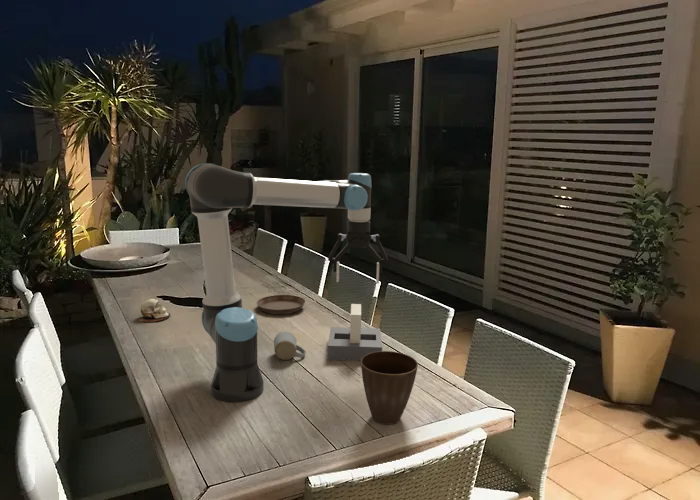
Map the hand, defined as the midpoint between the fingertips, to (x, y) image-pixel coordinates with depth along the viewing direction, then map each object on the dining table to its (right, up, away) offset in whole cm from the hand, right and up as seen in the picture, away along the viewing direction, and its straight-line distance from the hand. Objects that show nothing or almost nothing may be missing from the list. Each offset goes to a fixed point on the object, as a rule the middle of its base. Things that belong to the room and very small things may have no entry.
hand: (357, 281), depth 188 cm
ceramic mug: (-23, -25, -1) cm, 34 cm away
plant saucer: (-32, -15, +49) cm, 60 cm away
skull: (-81, -17, +33) cm, 89 cm away
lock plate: (-1, -24, +5) cm, 25 cm away
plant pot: (+7, -34, -40) cm, 53 cm away
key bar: (-1, -19, +4) cm, 20 cm away
